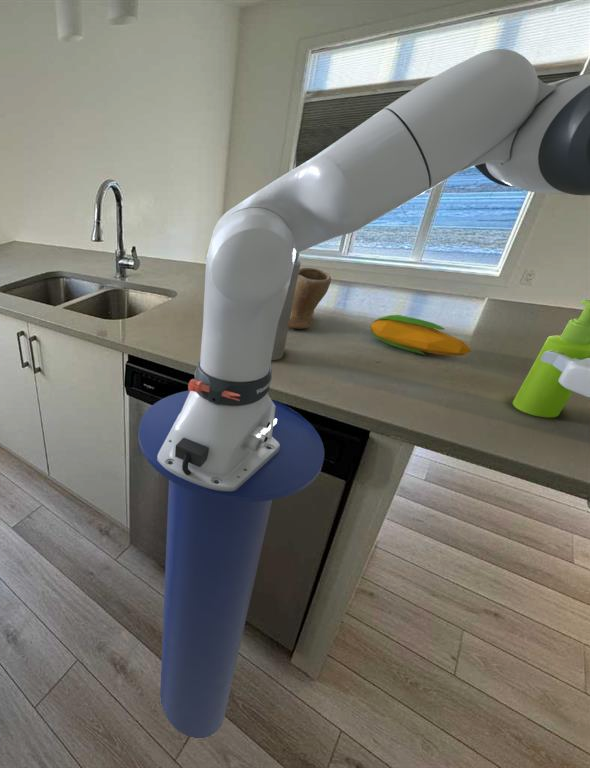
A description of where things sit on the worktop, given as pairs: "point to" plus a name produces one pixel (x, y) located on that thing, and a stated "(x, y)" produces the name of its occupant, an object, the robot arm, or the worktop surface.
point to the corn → (417, 336)
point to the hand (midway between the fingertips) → (564, 349)
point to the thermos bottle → (285, 314)
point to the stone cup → (308, 296)
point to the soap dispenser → (554, 369)
